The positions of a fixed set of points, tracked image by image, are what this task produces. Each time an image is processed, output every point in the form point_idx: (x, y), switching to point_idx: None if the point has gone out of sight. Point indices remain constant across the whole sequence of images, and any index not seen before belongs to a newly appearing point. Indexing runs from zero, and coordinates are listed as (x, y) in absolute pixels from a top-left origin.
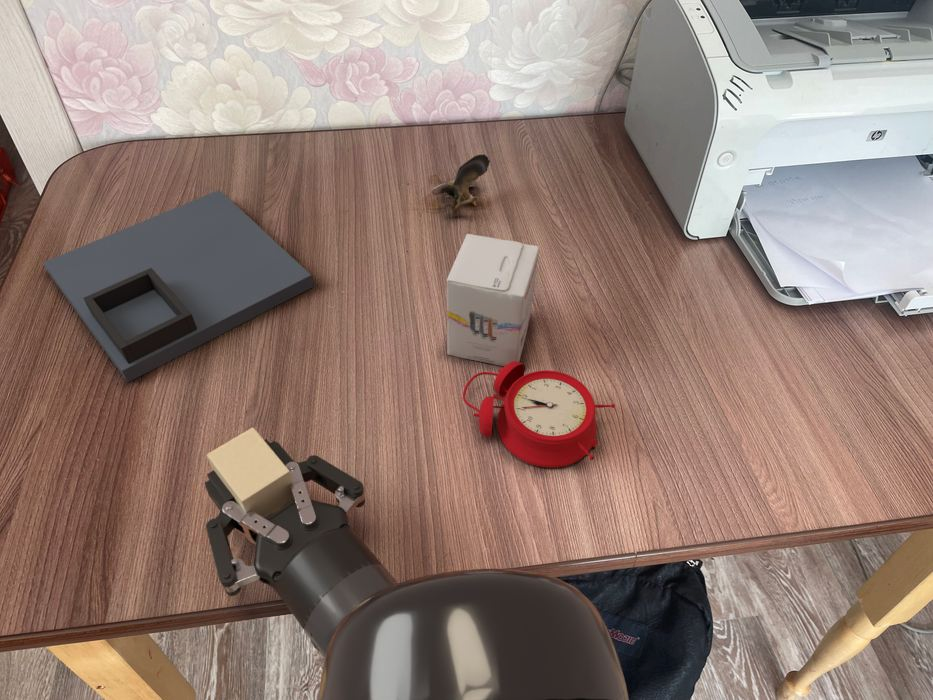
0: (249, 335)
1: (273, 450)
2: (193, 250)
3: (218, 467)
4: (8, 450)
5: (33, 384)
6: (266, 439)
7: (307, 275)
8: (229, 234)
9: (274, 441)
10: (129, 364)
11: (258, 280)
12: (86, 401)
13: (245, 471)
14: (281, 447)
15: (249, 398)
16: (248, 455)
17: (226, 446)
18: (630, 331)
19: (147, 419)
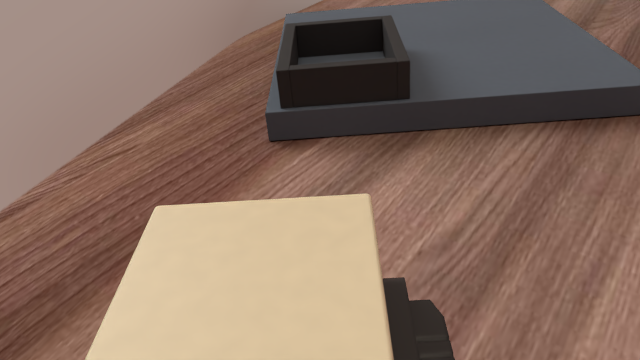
0: (494, 142)
1: (406, 330)
2: (463, 30)
3: (134, 262)
4: (70, 161)
5: (172, 109)
6: (404, 279)
7: None
8: (525, 25)
9: (431, 303)
10: (281, 109)
11: (548, 71)
12: (202, 143)
13: (200, 337)
14: (446, 339)
15: (439, 232)
16: (272, 276)
17: (233, 211)
18: None
19: (250, 194)
